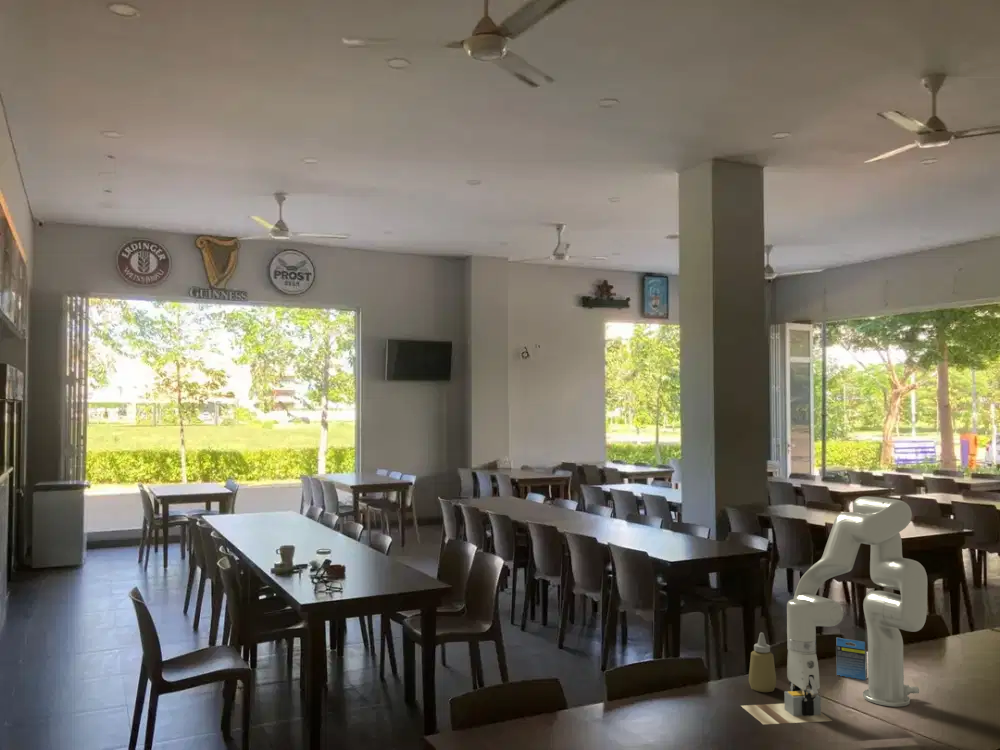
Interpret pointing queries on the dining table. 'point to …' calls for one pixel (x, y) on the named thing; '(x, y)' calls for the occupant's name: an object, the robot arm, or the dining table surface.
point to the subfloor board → (780, 714)
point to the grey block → (799, 703)
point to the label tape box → (851, 659)
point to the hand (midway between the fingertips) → (802, 710)
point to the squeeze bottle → (762, 667)
